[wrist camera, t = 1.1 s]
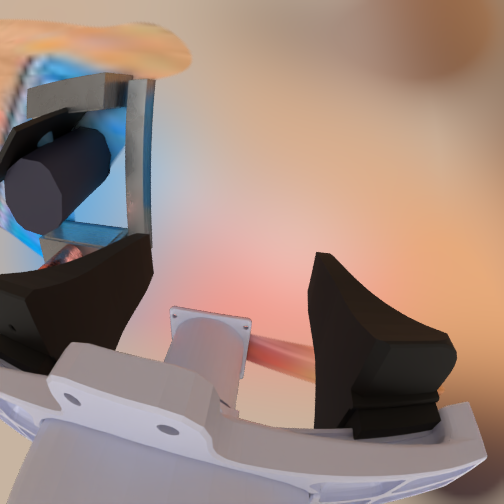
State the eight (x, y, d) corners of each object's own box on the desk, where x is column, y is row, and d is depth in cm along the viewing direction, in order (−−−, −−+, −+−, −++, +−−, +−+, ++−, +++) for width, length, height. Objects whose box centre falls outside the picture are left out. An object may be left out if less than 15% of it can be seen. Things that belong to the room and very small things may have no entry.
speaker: (50, 126, 20) (-30, 162, 11) (96, 97, 19) (12, 120, 10) (78, 195, 24) (13, 256, 15) (125, 175, 23) (61, 235, 14)
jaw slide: (133, 253, 25) (78, 323, 16) (67, 242, 25) (7, 298, 16) (131, 227, 24) (68, 292, 15) (63, 219, 24) (-3, 270, 15)
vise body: (152, 247, 24) (133, 271, 21) (52, 231, 25) (29, 249, 21) (156, 74, 17) (131, 69, 14) (43, 89, 18) (13, 93, 14)
